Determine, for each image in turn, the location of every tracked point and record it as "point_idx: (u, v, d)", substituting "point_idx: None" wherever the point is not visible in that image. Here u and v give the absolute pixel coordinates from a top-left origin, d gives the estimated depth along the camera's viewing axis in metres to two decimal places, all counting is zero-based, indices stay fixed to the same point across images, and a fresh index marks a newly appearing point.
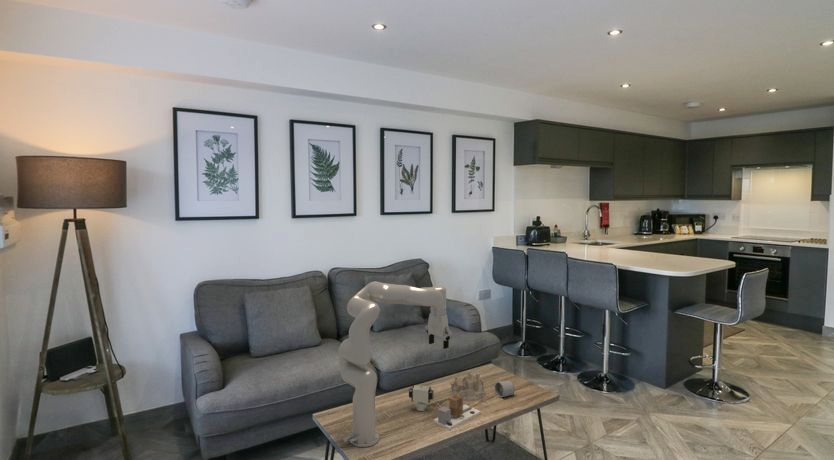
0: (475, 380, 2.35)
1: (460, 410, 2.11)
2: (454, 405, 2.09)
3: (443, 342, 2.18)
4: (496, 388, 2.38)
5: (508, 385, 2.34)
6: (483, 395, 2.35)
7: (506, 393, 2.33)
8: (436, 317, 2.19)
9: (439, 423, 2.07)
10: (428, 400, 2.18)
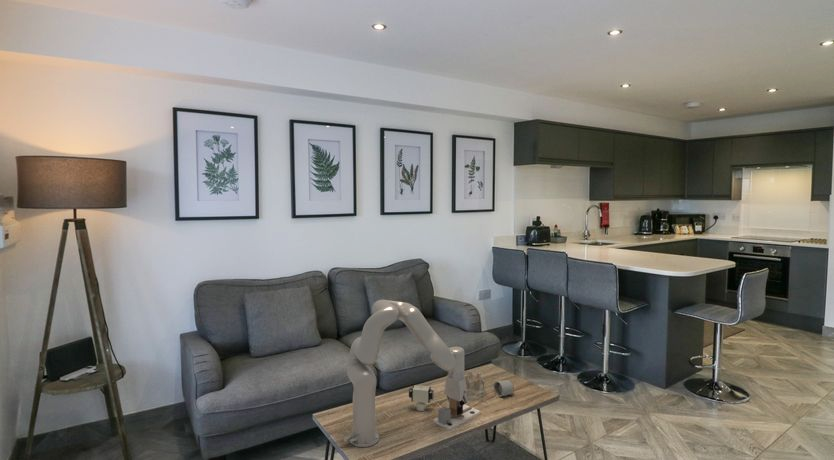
0: (476, 379, 2.36)
1: None
2: (454, 405, 2.09)
3: (457, 408, 2.09)
4: (495, 387, 2.39)
5: (507, 384, 2.35)
6: (484, 394, 2.36)
7: (505, 392, 2.33)
8: (454, 380, 2.08)
9: (439, 423, 2.07)
10: (428, 400, 2.18)
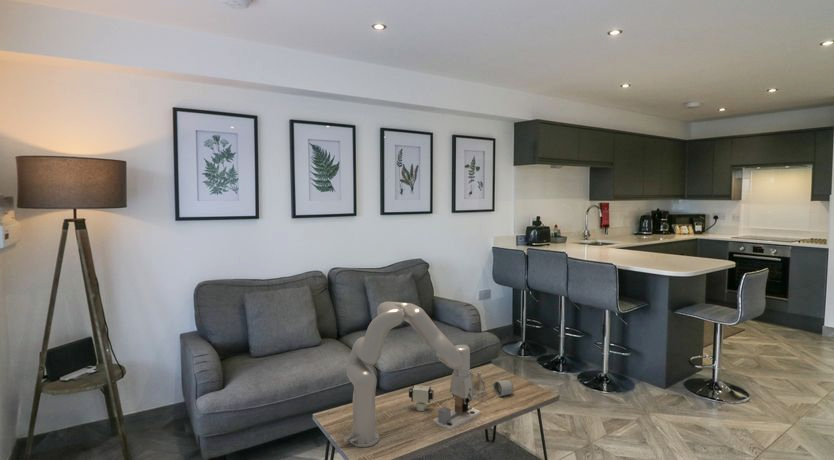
0: (476, 379, 2.36)
1: None
2: (459, 402, 2.12)
3: None
4: (495, 387, 2.39)
5: (507, 384, 2.35)
6: (484, 394, 2.36)
7: (505, 392, 2.34)
8: (459, 378, 2.11)
9: (439, 423, 2.07)
10: (428, 400, 2.18)
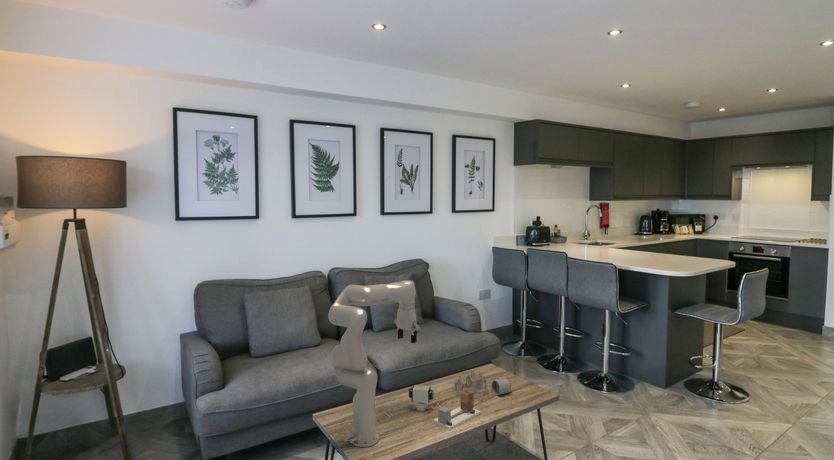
0: (478, 378, 2.38)
1: (471, 405, 2.17)
2: (465, 400, 2.15)
3: (411, 336, 2.18)
4: (493, 386, 2.41)
5: (505, 383, 2.37)
6: (486, 393, 2.38)
7: (502, 391, 2.35)
8: (404, 311, 2.19)
9: (439, 423, 2.07)
10: (428, 400, 2.18)
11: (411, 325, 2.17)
